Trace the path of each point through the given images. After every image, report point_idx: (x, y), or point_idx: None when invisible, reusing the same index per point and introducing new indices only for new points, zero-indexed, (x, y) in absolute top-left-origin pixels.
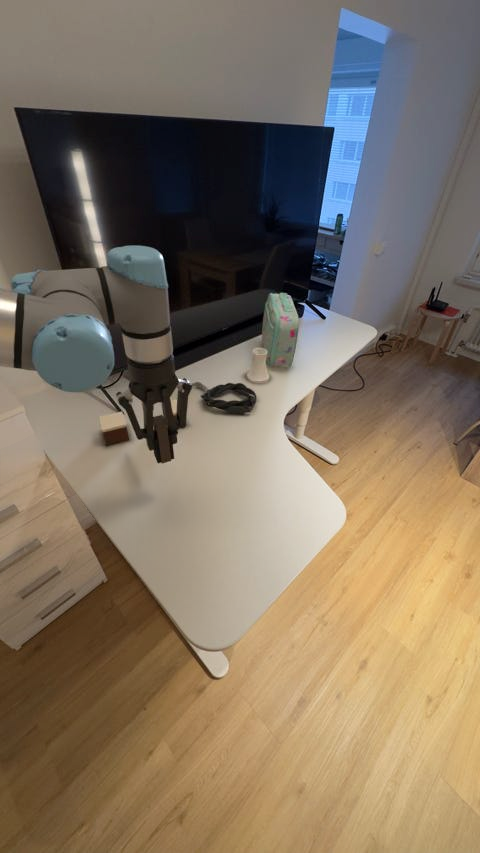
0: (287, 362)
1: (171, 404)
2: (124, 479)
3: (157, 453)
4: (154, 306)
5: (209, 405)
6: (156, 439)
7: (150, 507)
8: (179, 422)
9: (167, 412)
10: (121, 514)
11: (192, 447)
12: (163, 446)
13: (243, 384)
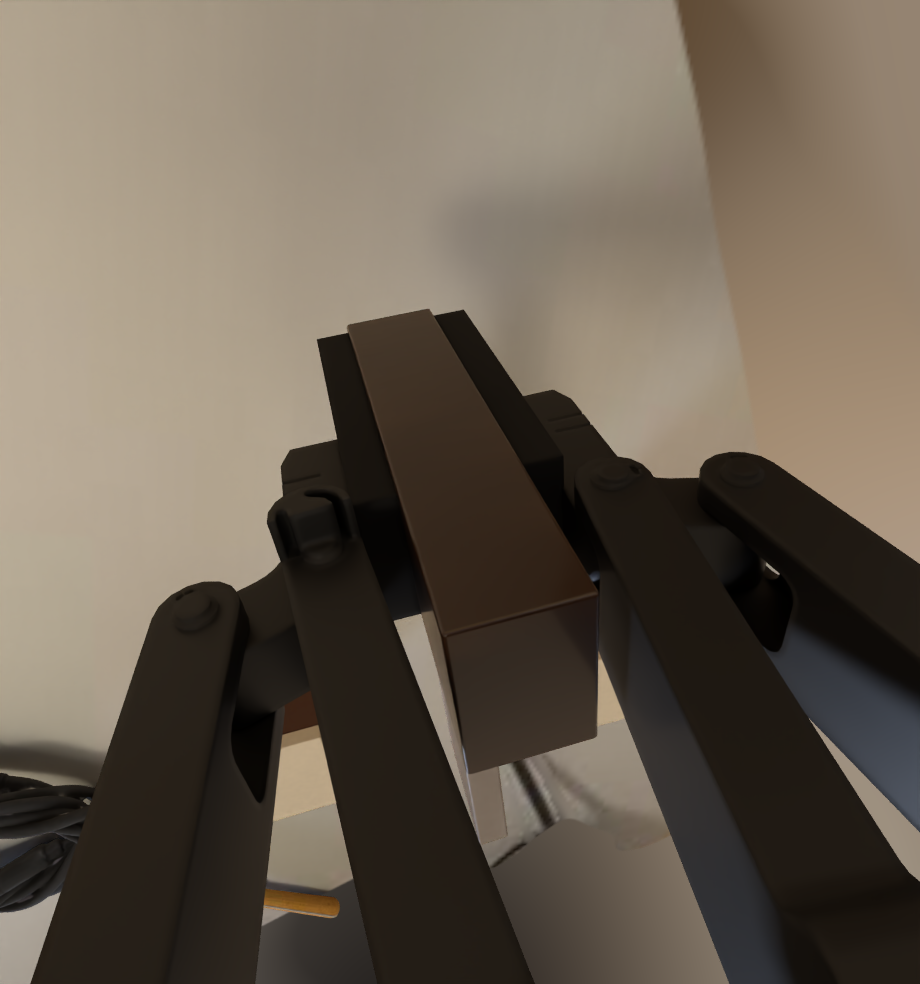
0: None
1: (292, 794)
2: (558, 388)
3: (485, 361)
4: None
5: (81, 794)
6: (534, 457)
7: (463, 162)
8: (237, 665)
9: (454, 851)
10: (615, 157)
11: (189, 547)
12: (438, 402)
13: None
